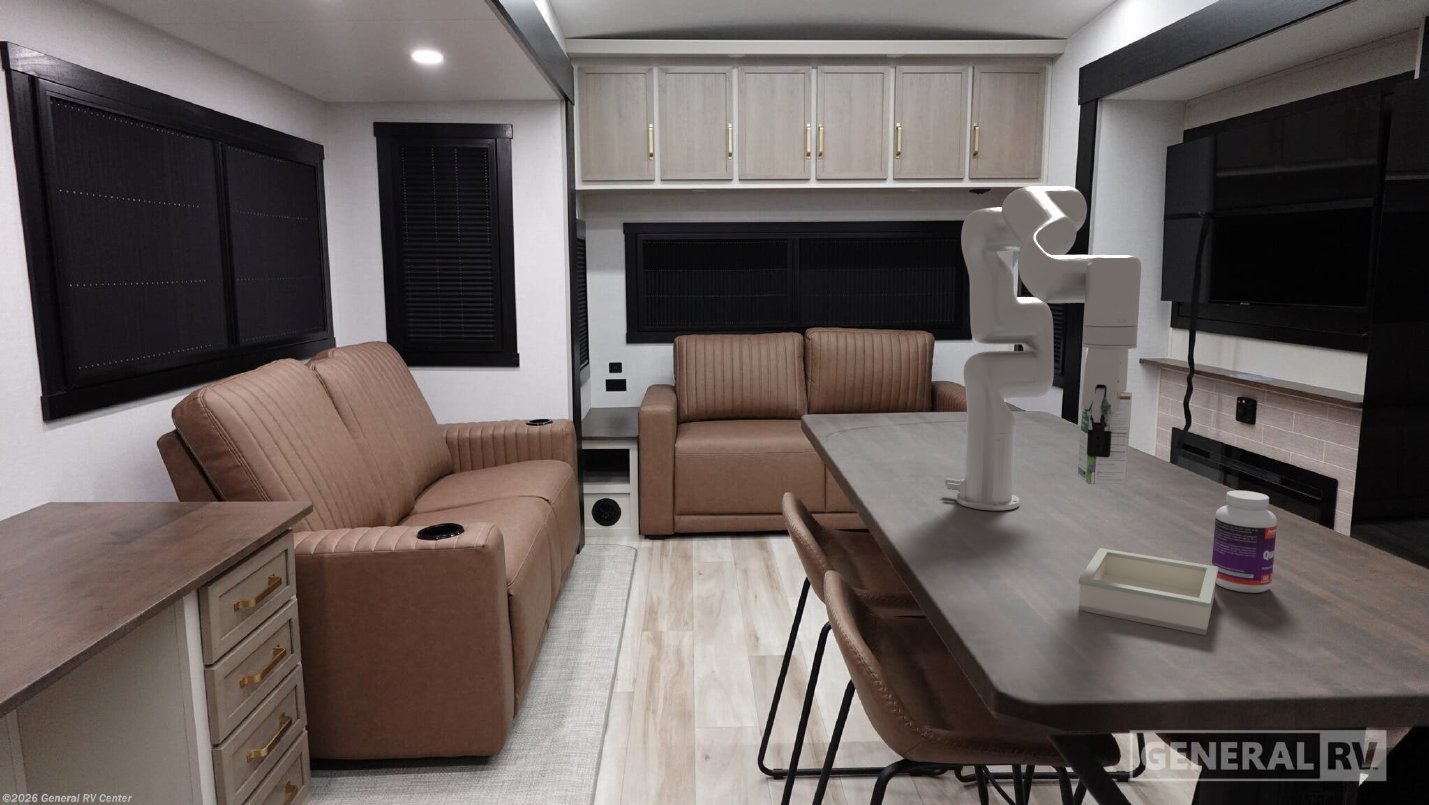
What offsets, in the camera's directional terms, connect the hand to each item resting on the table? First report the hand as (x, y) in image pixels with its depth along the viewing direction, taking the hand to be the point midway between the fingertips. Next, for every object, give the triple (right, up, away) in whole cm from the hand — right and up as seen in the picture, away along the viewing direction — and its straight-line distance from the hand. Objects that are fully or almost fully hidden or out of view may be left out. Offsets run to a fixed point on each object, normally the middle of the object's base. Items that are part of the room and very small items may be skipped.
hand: (1103, 450), depth 133 cm
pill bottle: (+21, -21, -1) cm, 29 cm away
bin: (+3, -22, -7) cm, 23 cm away
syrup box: (0, -5, +1) cm, 5 cm away
